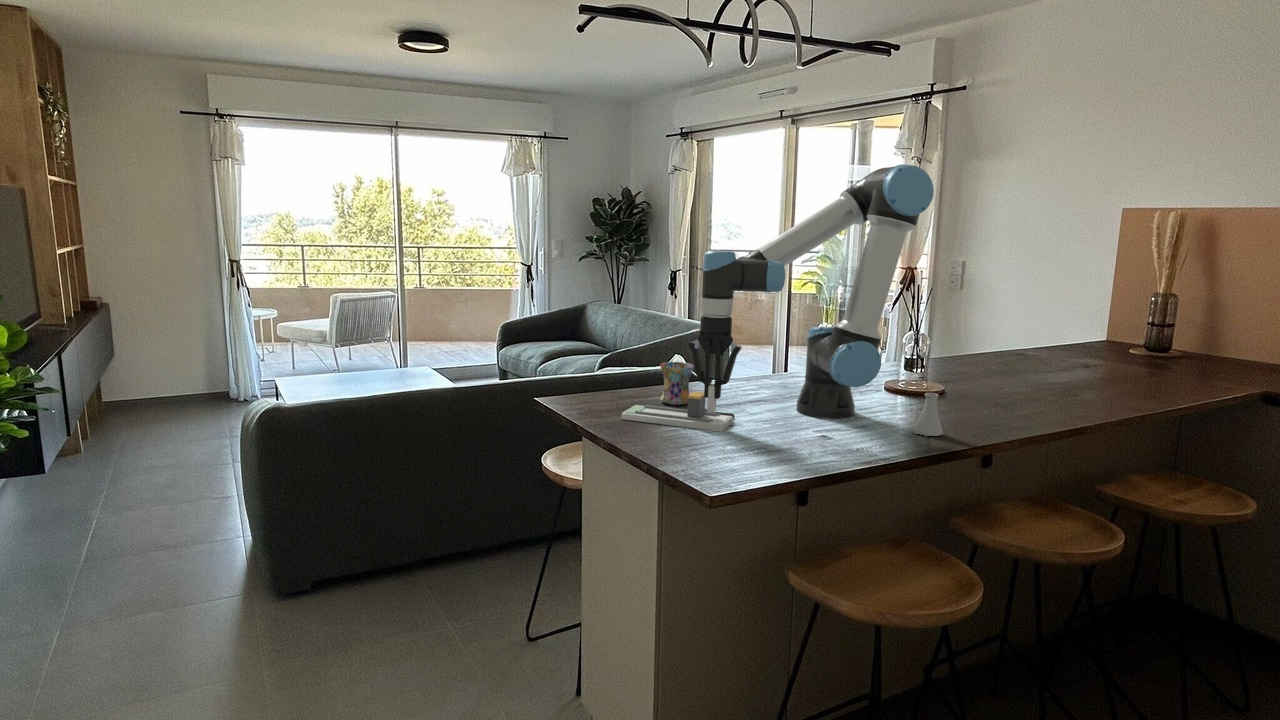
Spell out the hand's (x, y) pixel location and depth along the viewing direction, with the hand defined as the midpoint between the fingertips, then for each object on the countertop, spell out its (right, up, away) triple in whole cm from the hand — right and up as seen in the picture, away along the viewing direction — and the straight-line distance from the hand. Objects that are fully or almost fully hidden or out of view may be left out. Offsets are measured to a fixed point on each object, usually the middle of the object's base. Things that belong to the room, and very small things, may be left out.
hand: (711, 410), depth 189 cm
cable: (-5, -1, +11) cm, 12 cm away
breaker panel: (-8, -3, +4) cm, 10 cm away
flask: (+52, -6, -2) cm, 53 cm away
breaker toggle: (-4, -1, +2) cm, 4 cm away
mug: (-8, +1, +24) cm, 25 cm away
